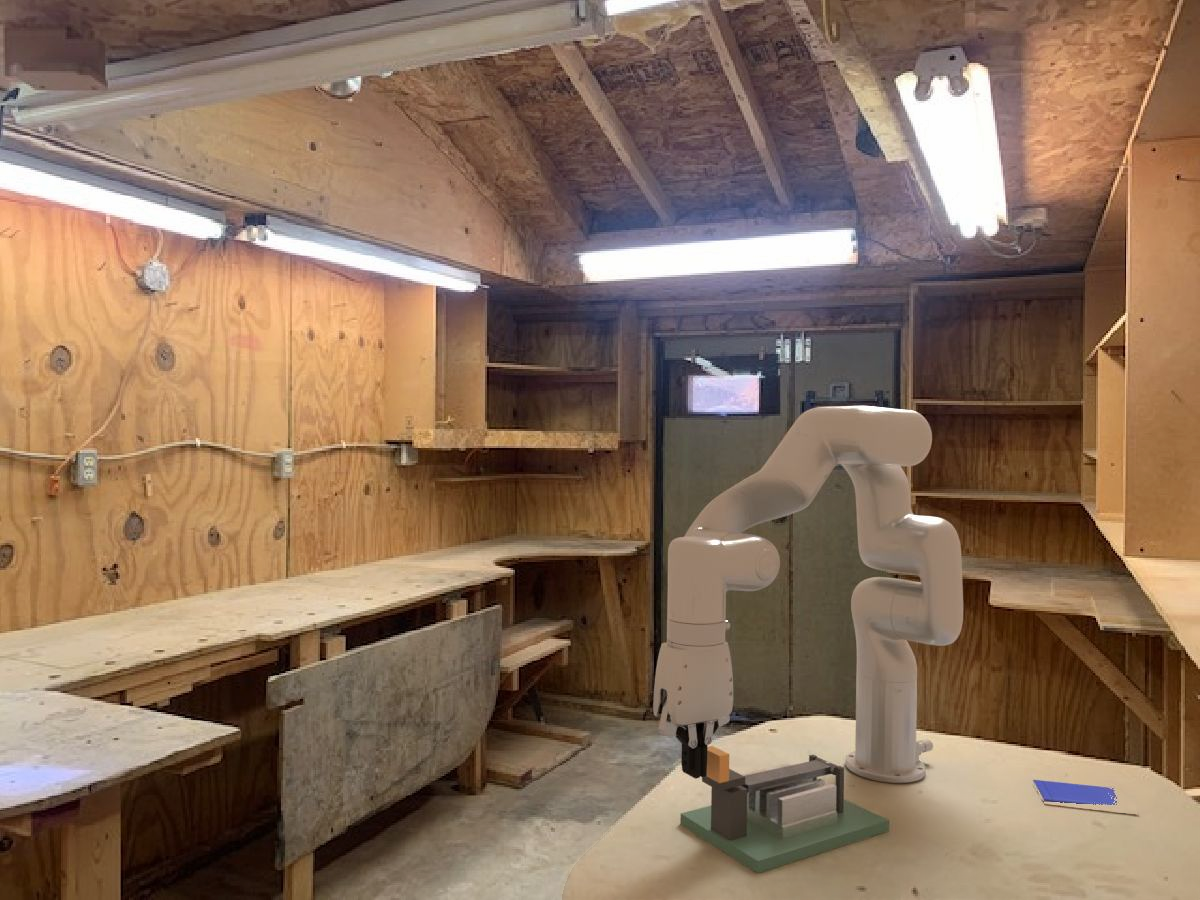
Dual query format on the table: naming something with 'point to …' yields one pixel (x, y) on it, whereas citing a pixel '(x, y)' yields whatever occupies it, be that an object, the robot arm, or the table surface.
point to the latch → (721, 771)
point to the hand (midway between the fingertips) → (694, 773)
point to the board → (767, 850)
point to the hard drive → (1074, 793)
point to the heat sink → (793, 806)
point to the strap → (788, 775)
